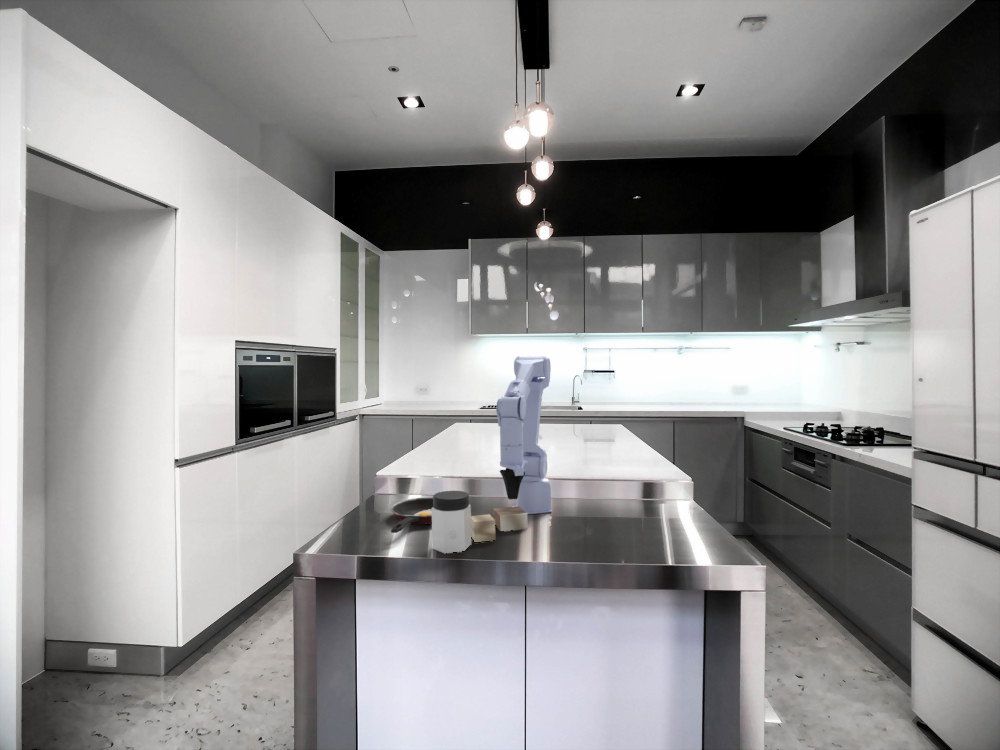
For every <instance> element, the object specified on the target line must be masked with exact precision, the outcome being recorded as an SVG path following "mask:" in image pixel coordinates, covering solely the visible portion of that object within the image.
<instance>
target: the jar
mask: <svg viewBox="0 0 1000 750" xmlns="http://www.w3.org/2000/svg"><path fill="white" fill-rule="evenodd" d="M471 506H472V505H471V504H470V494H469V493H468V492H466V491H462V490H446V491H445V490H444V491H440V492H437V493H434V494H433V507H432V524H431V538H432V539H431V541H432V542H431V544H432V545H431V546H432V547H431V548H432V550H435V551H437V552H439V553H441V554H446V553H447V554H454V553H453V552H457V553H463V552H462V551H465V550H466V549H467V548H468V547H469V546H470V545H471V546H472V539H471V516H472V507H471ZM471 546H470V547H471ZM470 547H469V548H470ZM469 548H468V549H469ZM466 551H467V550H466ZM466 551H465V552H466Z"/></svg>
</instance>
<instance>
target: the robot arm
mask: <svg viewBox="0 0 1000 750" xmlns="http://www.w3.org/2000/svg"><path fill="white" fill-rule="evenodd" d="M551 366H552V365H551V359H550V357H549V356H548V355H544V356H541V355H540V356H536V355H535V356H519V355H518V356H516V357H515V359H514V361H513V372H514V375H515V379H513V380H511V381H510V383H509V385H508V386H507V390H506V391H505V393H504V396H501V397H500V398H498V399H497V402H496V407H495V408H496V409H495V410H496V417H497V425H498V427H499V441H500V445H499V448H500V461H499V466H500V467H502V468H505V469H499V472H500V475H501V477H502V479H503V482H504V487H505V491H506V496H507V499H508V500H515V505H512V506H511V507H516V506H519V507H520V508H521V509H523V510H524V511H525V512H526V513H527V515H534V514H547V513H553V510H552V493H551V491H552V488H551V483H550V480H549V479H548V478H547V473H548V460H547V459H548V454H547V452H546V450H545V449H544V448H543V447H541V445H539V437H540V421H541V410H542V399H543V393H544V390H545V389H547V388H548V387H549V385H550V382H551V381H550V380H551V372H552V371H551V369H552V368H551Z"/></svg>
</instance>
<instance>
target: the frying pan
mask: <svg viewBox="0 0 1000 750" xmlns="http://www.w3.org/2000/svg"><path fill="white" fill-rule="evenodd" d="M432 507H433V497H431V496H428V497H425V496H424V497H415V498H414V497H413V498H409V499H403V500H401V501H398V502H395V503H393V504H392V505H391V506H390V508H389V510H390V511H391V513H393V515H394V516H395V517H396V518H397V519H398V520H400V521H399V522H398V523H396V524H395V525H394V526H392V528H391V530H390V533H394V534H397V533H399V532H401V531H403V529H405V527H407V526H408V525H409V523H411V525H426V524H425V523H432V511H431V510H428V509H432Z"/></svg>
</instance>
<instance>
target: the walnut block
mask: <svg viewBox="0 0 1000 750" xmlns="http://www.w3.org/2000/svg"><path fill="white" fill-rule="evenodd" d="M515 506H516V505H515ZM492 517H493V518H494V519H495V525H496V526H497V527H496V526H495V527H496V528H497V529H498V531H499V532H500V531H504V532H510V531H511V530H513V531H520V530H521V529H522V530H528V527H529V526H528V514H527V513H526V512H525V511H524V510H523V509H521V508H520V507H519V506H516V507H512V506H506V507H505V506H504V507H496V508H495V507H494V508H492Z"/></svg>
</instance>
